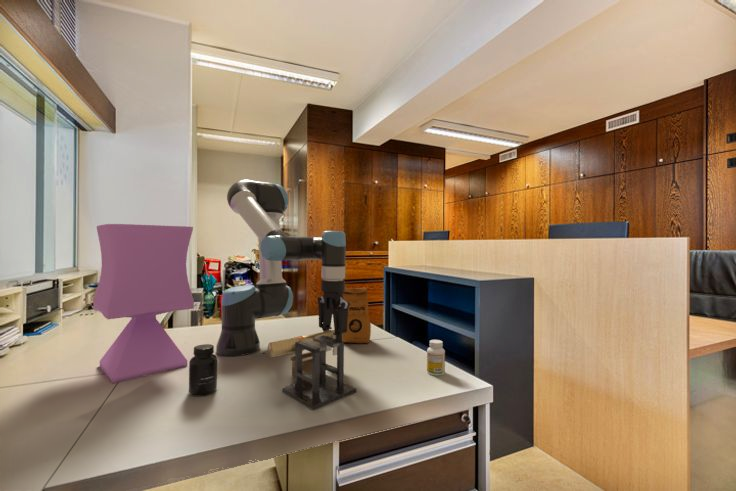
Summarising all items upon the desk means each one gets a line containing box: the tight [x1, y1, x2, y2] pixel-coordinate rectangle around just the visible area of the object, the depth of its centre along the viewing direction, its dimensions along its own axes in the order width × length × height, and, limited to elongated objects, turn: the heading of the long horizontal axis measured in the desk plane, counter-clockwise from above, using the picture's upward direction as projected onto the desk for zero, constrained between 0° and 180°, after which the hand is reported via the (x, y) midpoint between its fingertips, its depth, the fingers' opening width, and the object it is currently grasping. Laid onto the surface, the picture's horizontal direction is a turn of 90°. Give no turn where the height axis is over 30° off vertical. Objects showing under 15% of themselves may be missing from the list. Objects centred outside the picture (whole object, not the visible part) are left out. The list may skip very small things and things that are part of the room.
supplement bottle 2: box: [426, 339, 446, 377], centre depth 104 cm, size 5×5×10 cm
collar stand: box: [282, 335, 357, 411], centre depth 90 cm, size 14×14×13 cm
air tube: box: [267, 329, 343, 358], centre depth 101 cm, size 24×4×4 cm, turn 135°
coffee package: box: [342, 287, 372, 344], centre depth 138 cm, size 10×12×22 cm
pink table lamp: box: [93, 223, 195, 384], centre depth 109 cm, size 22×22×45 cm
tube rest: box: [290, 351, 312, 381], centre depth 101 cm, size 6×8×6 cm
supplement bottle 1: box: [188, 343, 218, 397], centre depth 90 cm, size 7×7×12 cm
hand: (332, 352), depth 108 cm, fingers closed on air tube, 4 cm apart
